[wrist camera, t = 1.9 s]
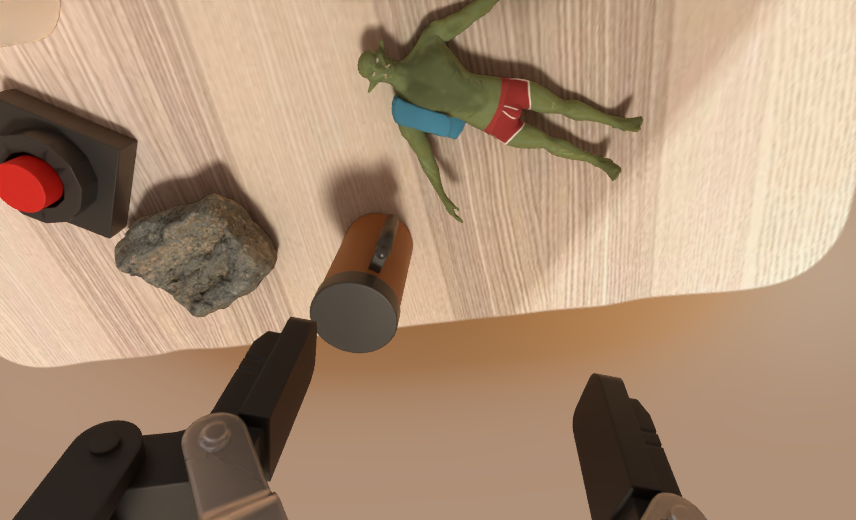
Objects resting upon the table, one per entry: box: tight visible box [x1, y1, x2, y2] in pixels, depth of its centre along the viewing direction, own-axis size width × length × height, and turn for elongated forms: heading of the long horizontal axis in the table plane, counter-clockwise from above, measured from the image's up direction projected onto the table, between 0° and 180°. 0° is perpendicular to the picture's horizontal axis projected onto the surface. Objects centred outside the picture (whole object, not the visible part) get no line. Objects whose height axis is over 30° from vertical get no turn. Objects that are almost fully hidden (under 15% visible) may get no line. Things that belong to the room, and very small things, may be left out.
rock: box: [115, 194, 277, 317], centre depth 38 cm, size 12×10×5 cm
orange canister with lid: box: [310, 213, 413, 353], centre depth 35 cm, size 7×6×10 cm
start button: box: [0, 155, 63, 213], centre depth 34 cm, size 4×4×2 cm
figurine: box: [358, 0, 643, 223], centre depth 32 cm, size 16×4×18 cm
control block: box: [0, 89, 137, 238], centre depth 36 cm, size 9×8×4 cm
